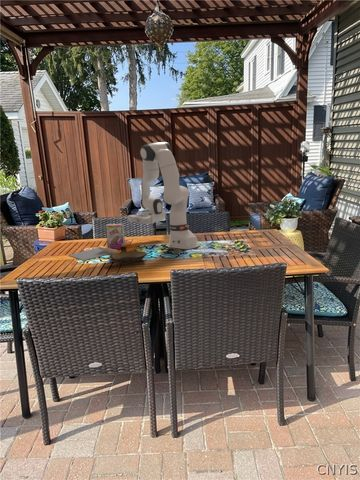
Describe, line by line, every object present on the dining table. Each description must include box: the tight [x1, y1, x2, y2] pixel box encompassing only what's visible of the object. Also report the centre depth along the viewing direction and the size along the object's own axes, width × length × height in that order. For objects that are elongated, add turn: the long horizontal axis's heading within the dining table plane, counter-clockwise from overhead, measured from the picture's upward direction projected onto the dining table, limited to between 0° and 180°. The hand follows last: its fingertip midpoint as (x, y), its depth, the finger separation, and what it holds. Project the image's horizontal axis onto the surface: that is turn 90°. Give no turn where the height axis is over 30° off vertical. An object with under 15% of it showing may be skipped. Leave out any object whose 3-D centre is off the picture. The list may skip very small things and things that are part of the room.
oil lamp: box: [107, 243, 148, 264], centre depth 213 cm, size 22×30×8 cm
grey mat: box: [68, 245, 118, 261], centre depth 235 cm, size 20×24×2 cm
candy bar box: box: [105, 223, 126, 250], centre depth 245 cm, size 11×5×16 cm, turn 84°
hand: (129, 220), depth 252 cm, fingers closed
